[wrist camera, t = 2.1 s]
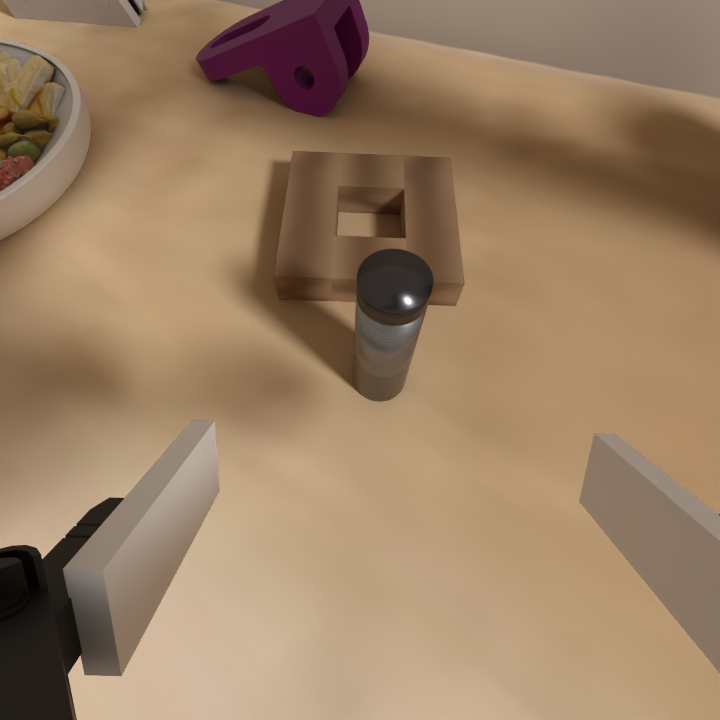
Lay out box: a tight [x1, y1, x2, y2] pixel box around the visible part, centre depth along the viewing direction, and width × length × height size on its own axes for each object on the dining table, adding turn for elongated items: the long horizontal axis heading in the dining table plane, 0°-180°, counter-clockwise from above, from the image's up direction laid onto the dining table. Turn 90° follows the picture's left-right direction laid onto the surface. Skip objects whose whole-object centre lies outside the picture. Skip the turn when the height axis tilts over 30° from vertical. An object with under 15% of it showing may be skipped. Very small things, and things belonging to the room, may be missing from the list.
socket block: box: [274, 151, 464, 306], centre depth 38 cm, size 15×15×3 cm
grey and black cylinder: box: [353, 249, 434, 401], centre depth 27 cm, size 4×4×12 cm
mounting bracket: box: [196, 0, 369, 116], centre depth 49 cm, size 10×9×19 cm
